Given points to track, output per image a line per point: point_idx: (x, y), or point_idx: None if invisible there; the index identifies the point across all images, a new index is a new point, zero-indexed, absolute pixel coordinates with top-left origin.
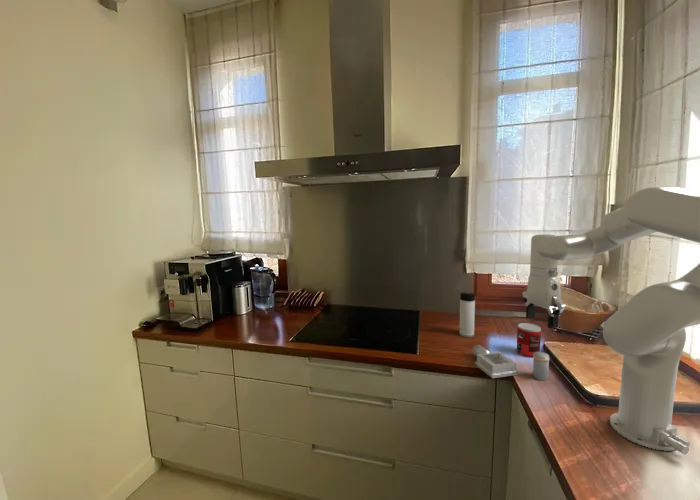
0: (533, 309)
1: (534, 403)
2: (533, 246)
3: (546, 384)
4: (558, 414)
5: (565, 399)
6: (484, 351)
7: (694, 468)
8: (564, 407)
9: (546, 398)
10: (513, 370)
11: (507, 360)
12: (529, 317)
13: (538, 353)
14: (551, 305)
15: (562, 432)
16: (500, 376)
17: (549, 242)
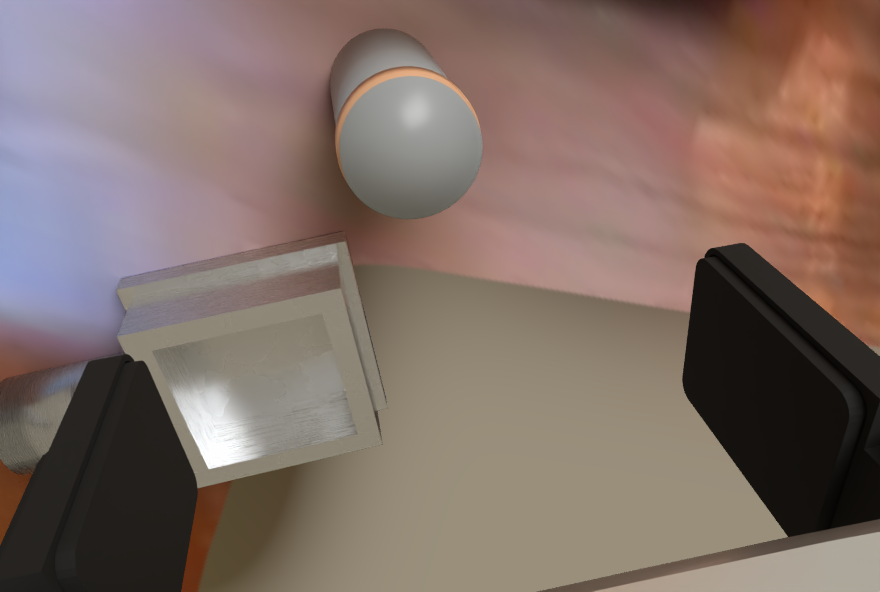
0: (117, 554)
1: (651, 284)
2: None
3: (487, 101)
4: (758, 218)
5: (666, 88)
6: None
7: None
8: (725, 149)
9: (629, 198)
10: (342, 278)
11: (271, 319)
12: (186, 468)
13: (382, 167)
14: (710, 586)
15: (852, 273)
16: (374, 352)
17: None
